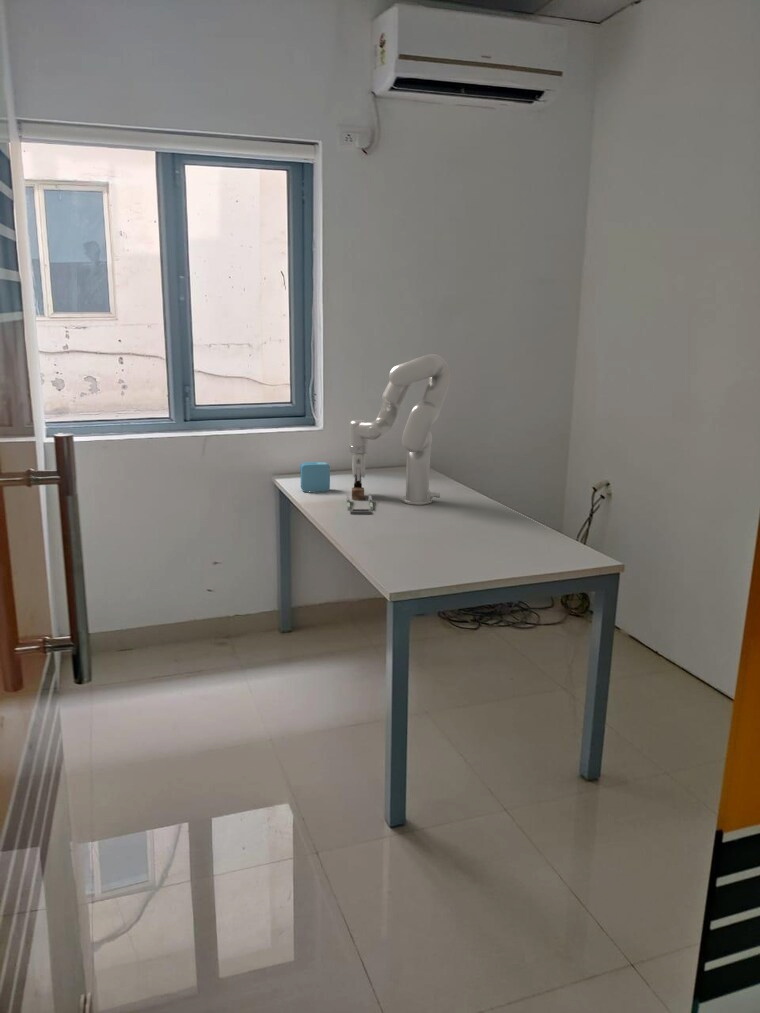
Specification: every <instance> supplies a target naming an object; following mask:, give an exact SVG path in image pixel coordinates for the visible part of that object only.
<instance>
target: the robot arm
mask: <svg viewBox="0 0 760 1013" xmlns="http://www.w3.org/2000/svg"><path fill="white" fill-rule="evenodd" d="M388 375H389V376H388V379H389V381H388V383H387V385H386V387H385V389H384V391H383V393H382V396H381V399H382V406H381V408H380V410H379V412H378V415H377V416H376V419H375V420H373V421H369V422H368V421H367V420H365V419H352V420H351V421H349V437H348V438H349V441H348V442H349V447H348V448H349V452H348V453H349V454H350V455H351V464H352V466H351V468H352V470H351V471H352V475H353V476H352V477H353V478H354V482H353V488H363V487H362V485H363V484H362V478H364V479H365V478H366V455H367V454H368V440H370V441H377V440H380V439H382V438H383V437H385V436H387V435H388V434H389V432H390V430H391V429H392V427H393V425H394V423H395V421H396V419H397V417H398V415H399V413H400V412H399V411H400V409H401V406H402V404H403V402H404V400H405V398H406V396H407V394H408V392H409V391H410V389H411V387H412V384H414V383H417V382H420V381H423V380H426V379H428V382H427V384H426V387H425V389H424V392H423V394H422V398H421V400H420V401H419V402H418V403H416V404H414V406H413V407H412V409H411V410H410V413H409V416H408V417H407V422H406V423H405V426H404V430H403V432H402V435H401V444H402V447H403V448H404V450H406V451H407V453H406V471H405V473H406V474H405V476H406V477H405V478H406V479H405V495H404V496H402V497H401V502H402V503H404V504H408V505H417V506H422V505H424V506H425V505H429V504H431V503H433V498H436V499H437V498H438V499H439V498H441V493H440V492H436V491H434V492H433V491H432V492H431V491H430V473H431V472H430V471H431V467H430V466H431V453H432V452H431V451H432V444H433V434H432V431H431V427H432V425H433V424H434V423H435V422H436V421H437V420H438V418H439V417H440V413H441V410H442V407H443V404H444V402H445V399H446V396H447V393H448V390H449V388H450V387H449V386H450V384H451V376H452V374H451V370H450V366H449V364H448V362H447V361H446V360H445V359H444V358H443V357H442V356H441V355H439V354H435V353H431V354H426V355H423V356H420V357H417V358H413V359H412V360H408V361H406V362H403V363H399V364H397V365H394V366H393V367H392V368H391V369H390V371H389V374H388Z"/></svg>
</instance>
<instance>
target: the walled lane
mask: <svg viewBox="0 0 760 1013" xmlns="http://www.w3.org/2000/svg"><path fill="white" fill-rule="evenodd" d="M372 498H373V497H372V495H370V494H369V495H368V506H369V505H370V503H372V504H373V499H372ZM347 503H350V495H349V494H348V495H346V504H347ZM350 504H351V503H350Z"/></svg>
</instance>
